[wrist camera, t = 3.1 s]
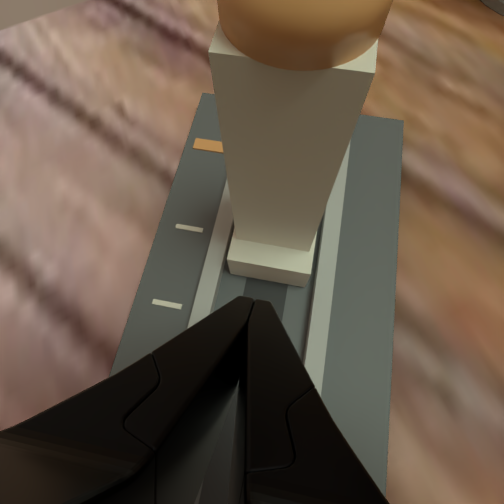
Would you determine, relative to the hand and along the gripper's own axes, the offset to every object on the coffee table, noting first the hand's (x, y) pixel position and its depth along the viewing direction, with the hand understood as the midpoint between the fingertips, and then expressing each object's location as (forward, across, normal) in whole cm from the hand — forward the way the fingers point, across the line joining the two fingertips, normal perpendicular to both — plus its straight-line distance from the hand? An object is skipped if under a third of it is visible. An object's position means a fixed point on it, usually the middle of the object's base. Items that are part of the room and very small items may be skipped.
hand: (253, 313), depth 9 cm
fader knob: (+9, 0, +1) cm, 9 cm away
